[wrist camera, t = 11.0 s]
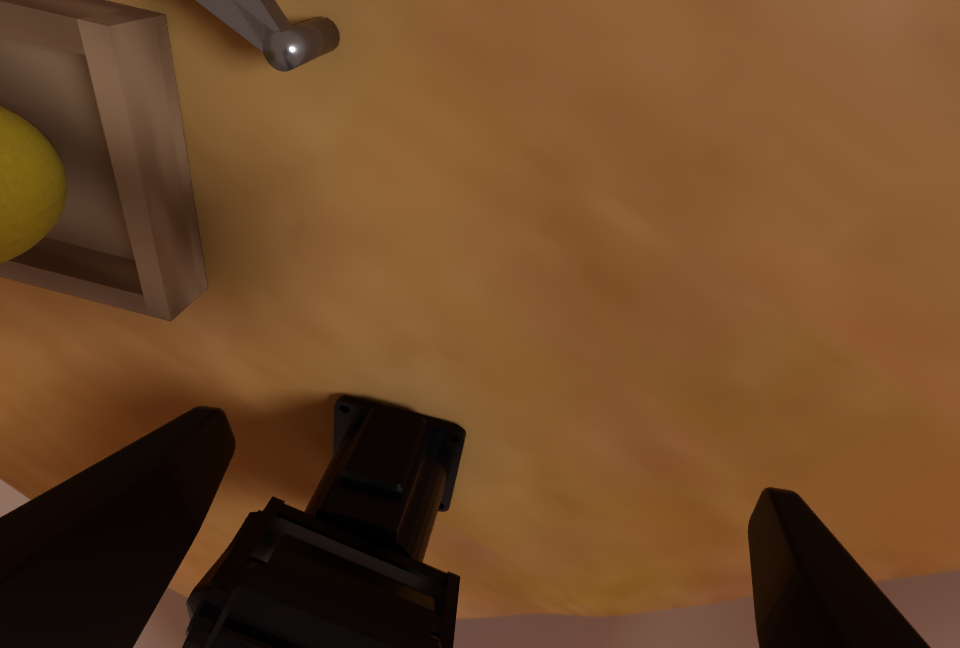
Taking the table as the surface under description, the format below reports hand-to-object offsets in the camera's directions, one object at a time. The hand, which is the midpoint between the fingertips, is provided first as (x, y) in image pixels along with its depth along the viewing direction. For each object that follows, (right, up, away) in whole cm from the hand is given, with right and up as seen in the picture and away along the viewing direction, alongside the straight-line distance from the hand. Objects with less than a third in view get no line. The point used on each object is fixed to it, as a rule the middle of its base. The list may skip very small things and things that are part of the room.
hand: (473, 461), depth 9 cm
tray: (-16, +10, +13) cm, 23 cm away
